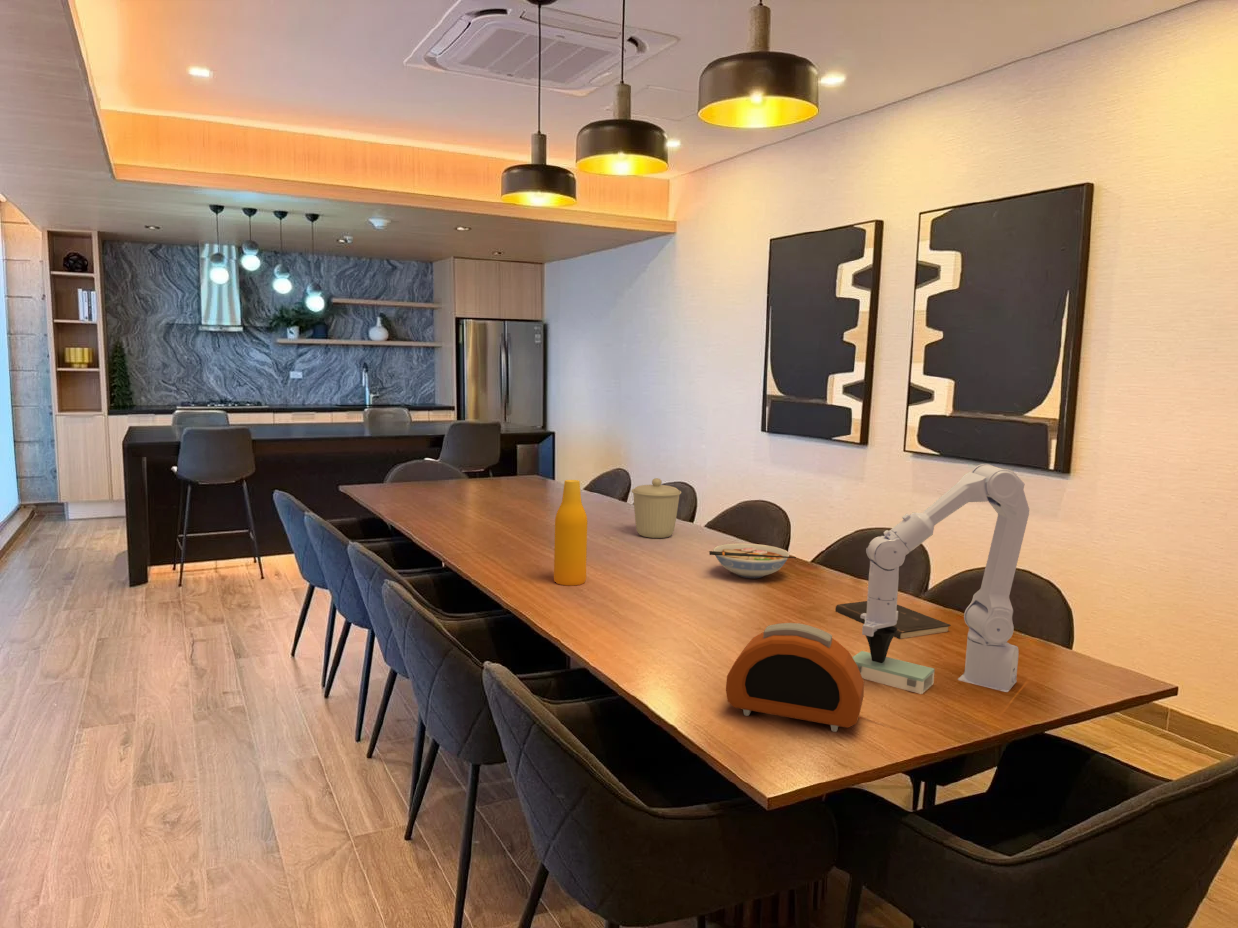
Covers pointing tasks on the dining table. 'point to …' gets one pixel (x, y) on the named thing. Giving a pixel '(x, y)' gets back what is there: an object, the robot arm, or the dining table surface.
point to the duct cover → (894, 667)
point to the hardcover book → (906, 624)
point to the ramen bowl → (750, 559)
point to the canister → (655, 509)
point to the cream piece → (896, 680)
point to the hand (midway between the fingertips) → (878, 661)
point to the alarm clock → (797, 677)
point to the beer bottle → (570, 537)
